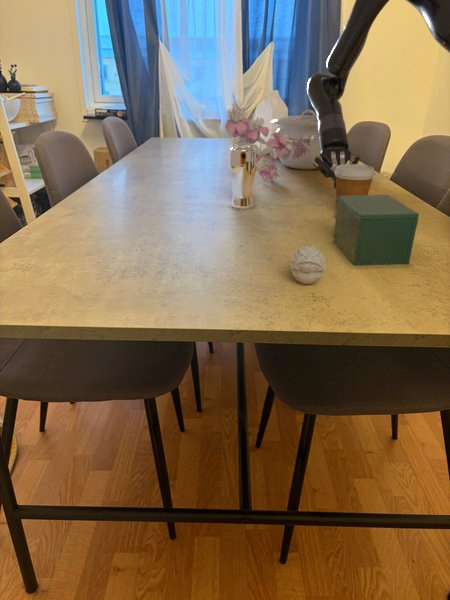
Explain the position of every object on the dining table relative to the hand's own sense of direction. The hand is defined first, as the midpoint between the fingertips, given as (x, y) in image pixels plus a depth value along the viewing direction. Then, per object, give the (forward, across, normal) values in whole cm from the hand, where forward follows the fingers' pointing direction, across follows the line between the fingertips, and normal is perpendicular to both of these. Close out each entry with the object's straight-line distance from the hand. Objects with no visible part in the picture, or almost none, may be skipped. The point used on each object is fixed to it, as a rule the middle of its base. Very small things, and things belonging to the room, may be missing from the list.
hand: (340, 189), depth 115 cm
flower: (-18, -18, +26) cm, 36 cm away
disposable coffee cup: (+10, 0, -3) cm, 10 cm away
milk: (-69, -3, +76) cm, 102 cm away
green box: (+27, -4, -21) cm, 34 cm away
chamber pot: (-38, +4, +45) cm, 59 cm away
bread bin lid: (+21, -4, -27) cm, 34 cm away
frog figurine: (+37, -20, -30) cm, 52 cm away
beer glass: (+1, -26, +6) cm, 27 cm away
